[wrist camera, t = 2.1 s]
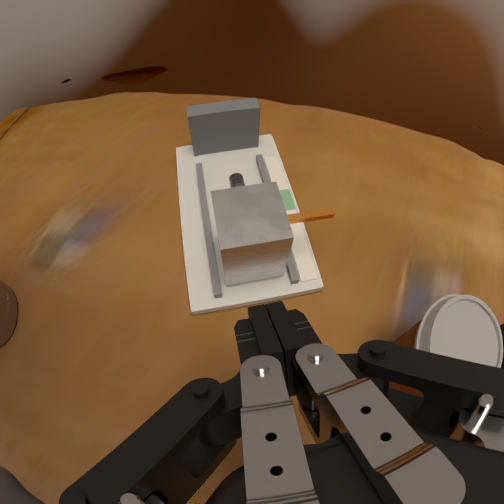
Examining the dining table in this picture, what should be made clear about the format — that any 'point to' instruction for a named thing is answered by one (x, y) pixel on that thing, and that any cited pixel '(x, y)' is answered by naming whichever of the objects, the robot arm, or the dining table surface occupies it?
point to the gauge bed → (217, 177)
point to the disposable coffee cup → (456, 333)
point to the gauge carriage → (255, 230)
